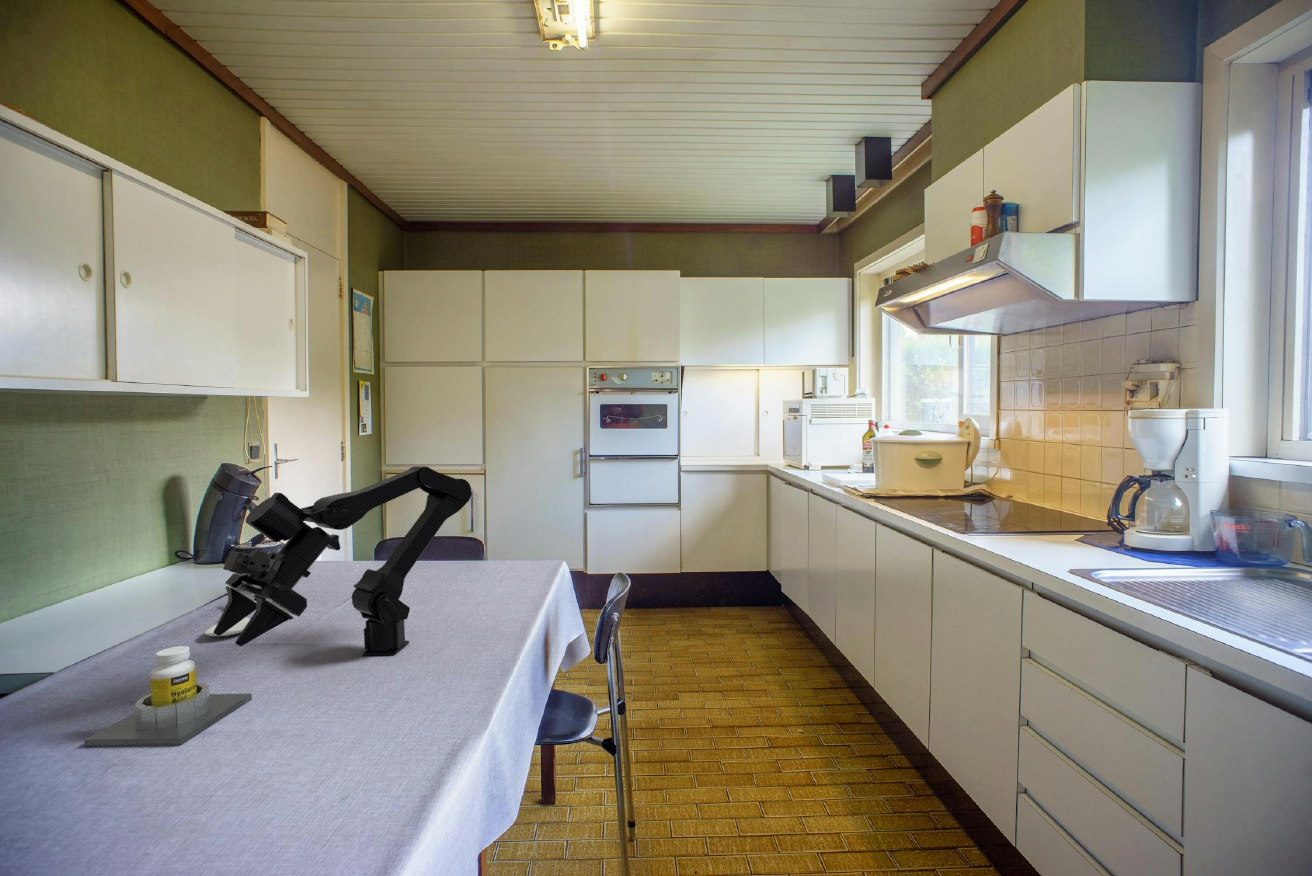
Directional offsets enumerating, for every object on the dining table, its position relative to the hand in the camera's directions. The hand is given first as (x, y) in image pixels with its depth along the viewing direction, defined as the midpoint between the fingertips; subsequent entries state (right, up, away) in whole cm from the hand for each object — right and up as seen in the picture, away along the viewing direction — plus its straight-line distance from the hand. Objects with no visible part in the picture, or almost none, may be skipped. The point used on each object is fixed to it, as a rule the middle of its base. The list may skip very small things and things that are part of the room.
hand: (226, 639), depth 97 cm
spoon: (-29, -11, +44) cm, 54 cm away
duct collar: (-4, -11, -6) cm, 13 cm away
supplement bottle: (-4, -10, -6) cm, 12 cm away
